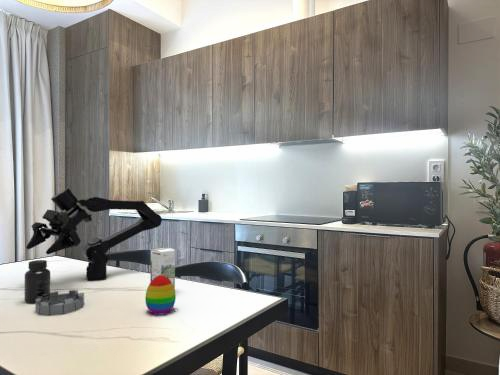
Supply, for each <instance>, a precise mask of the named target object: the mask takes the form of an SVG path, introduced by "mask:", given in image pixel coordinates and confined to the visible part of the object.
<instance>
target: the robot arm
mask: <svg viewBox="0 0 500 375" xmlns="http://www.w3.org/2000/svg"><path fill="white" fill-rule="evenodd" d="M50 200H51V201H52V202H53V204H55V205H56V207H57V208H58V209H59V210H60V211H56V210H53V209H47V210H45V212H44V214H43V215H42V217H41V218H42V219H43V220H46V221H47V222H49V223H48V225H47V223H43V222H39V221H38V222H37V221H35V222H34V223H33V224H31V229H32V231H33V233H32V234H33V235H32V236H31V239H30V240H29V242H28V243H27V245H26V246H25V247H26V248H25V249H26V250H30V249H32V248H35V247H36V246H39V245H40V244H42V243H44V242H46V240H48V239H50V238H51V236H53V237H56V238H57V239H56V240H55V241H54V242H53V244H51V245H50V246H49V247H48V249H47V250H46V251H45V253H46V255H52V254H53V253H56V252H59V251H62V250H65V249H68V248H73V247H78V245H80V244H81V242H82V241H81V240H82V239H81V237H80V235H79V233H78V228H77V227H78V226H79V225H81V223H83V222H85V223H89V222H90V223H91V222H92V214H89V213H88V212H92V213H97V212H104V211H108V210H125V211H126V210H131V211H132V210H133V211H136V212H137V213H138V215H139V217H140V218H139V219H138V220H137V221H136V222H134V223H133V224H131V225H129V226H127V227H126V228H123V229H121V230H120V231H117V232H116V233H114V234H112V235H110V236H107V237H106V238H103V239H102V238H100V237H95V238H93V239H91V240H89V241H86V244H84V245H83V247H82V250H81V253H82V255H83V257H84V258H86V259H87V262H88V263H87V266H86V269H85V270H86V279H87V281H88V282H89V281H100V280H101V281H102V280H107V277H108V273H107V271H108V270H107V264H108V262H109V258H110V257H108V256H107V255H106V253H108V251H109V250H110V249H112V248H114V247H116V246H117V245H119V244H121V243H123V242H125V241H126V240H128V239H130V238H133V237H134V236H137V235H138V234H140V233H142V232H144V231H148V230H153V229H156V228H159V227H160V226H161V225H162V222H163V219H162V217H161V215H160V214H159V213H156V212H155V211H154V210H153V209H152V208H151V207H149V205H148V204H147V203H146V202H145V201H144V200H118V199H117V200H116V199H115V200H113V199H107V198H103V197H99V196H87V197H85V198H84V199H82V198H77V197H76V196H75V195H74V193H73V192H72V191H71V189H70V188H68V187H67V188H66V189H64V190H61V191H60V192H58V193H56V194H55V195H53V196H52V197H51V199H50ZM82 207H83V208H82ZM48 226H49V227H51V228H49V227H48Z"/></svg>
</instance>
